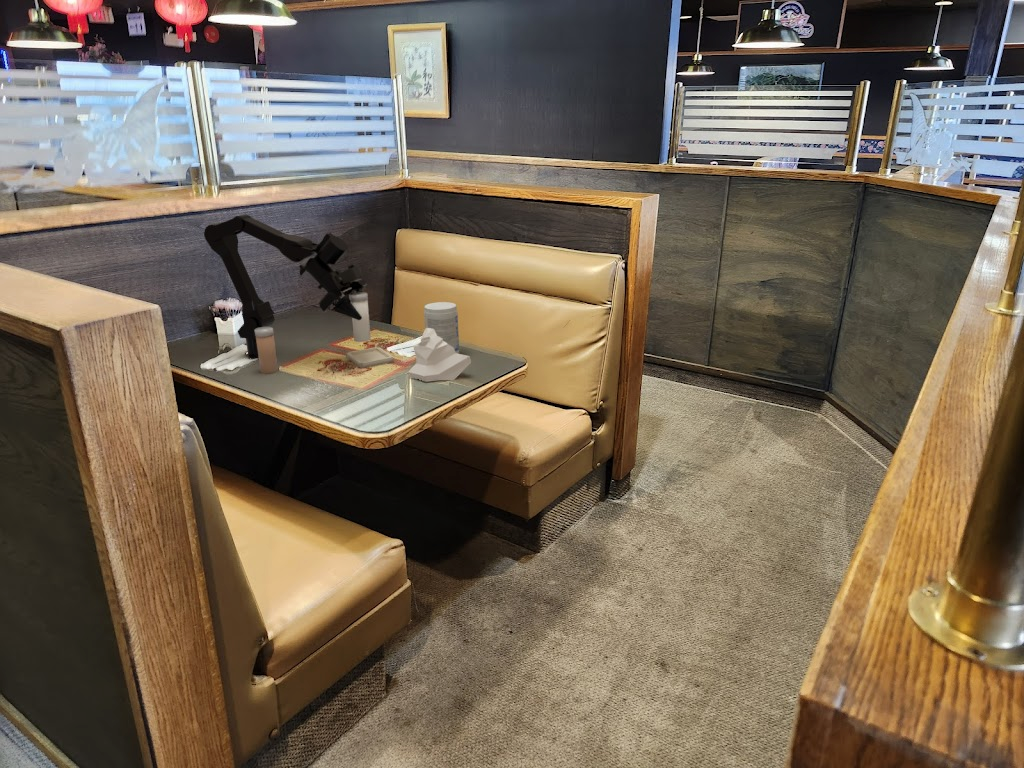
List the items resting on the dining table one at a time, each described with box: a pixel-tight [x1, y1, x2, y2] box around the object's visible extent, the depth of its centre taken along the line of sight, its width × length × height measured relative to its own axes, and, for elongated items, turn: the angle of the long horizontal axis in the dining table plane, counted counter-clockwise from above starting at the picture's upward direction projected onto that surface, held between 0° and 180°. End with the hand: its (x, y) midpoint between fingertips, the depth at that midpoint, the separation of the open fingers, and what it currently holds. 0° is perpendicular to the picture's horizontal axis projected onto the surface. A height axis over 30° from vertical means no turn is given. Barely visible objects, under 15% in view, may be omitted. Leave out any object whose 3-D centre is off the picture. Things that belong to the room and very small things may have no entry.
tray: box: [345, 346, 395, 369], centre depth 207 cm, size 12×10×2 cm
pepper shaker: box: [255, 326, 279, 375], centre depth 197 cm, size 5×5×12 cm
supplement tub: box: [423, 301, 460, 354], centre depth 209 cm, size 10×10×15 cm
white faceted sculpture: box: [408, 328, 472, 383], centre depth 191 cm, size 12×15×14 cm
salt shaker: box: [350, 291, 372, 343], centre depth 200 cm, size 5×5×13 cm
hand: (364, 316), depth 200 cm, fingers closed on salt shaker, 5 cm apart
